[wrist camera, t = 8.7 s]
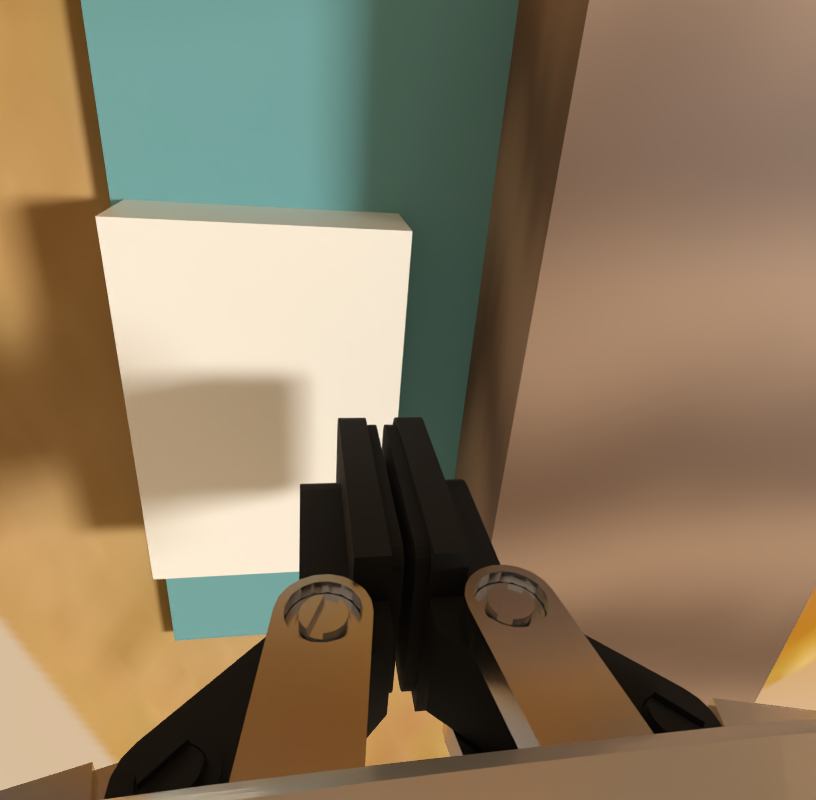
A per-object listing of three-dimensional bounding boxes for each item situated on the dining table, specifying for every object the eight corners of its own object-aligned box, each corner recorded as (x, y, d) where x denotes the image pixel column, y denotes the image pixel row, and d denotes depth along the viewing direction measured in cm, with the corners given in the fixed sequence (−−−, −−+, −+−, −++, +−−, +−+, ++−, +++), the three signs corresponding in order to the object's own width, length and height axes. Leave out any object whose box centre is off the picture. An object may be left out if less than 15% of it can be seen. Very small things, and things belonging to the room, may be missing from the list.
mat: (79, -56, 11) (71, -62, 11) (513, -4, 12) (519, -7, 12) (177, 630, 19) (174, 640, 19) (432, 612, 21) (434, 622, 20)
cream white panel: (412, 231, 12) (398, 213, 14) (95, 216, 11) (124, 199, 13) (386, 566, 16) (378, 520, 18) (153, 579, 15) (169, 528, 17)
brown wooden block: (521, -62, 12) (611, -127, 8) (928, -6, 14) (1142, -39, 10) (430, 633, 21) (455, 741, 17) (682, 614, 23) (751, 708, 19)
